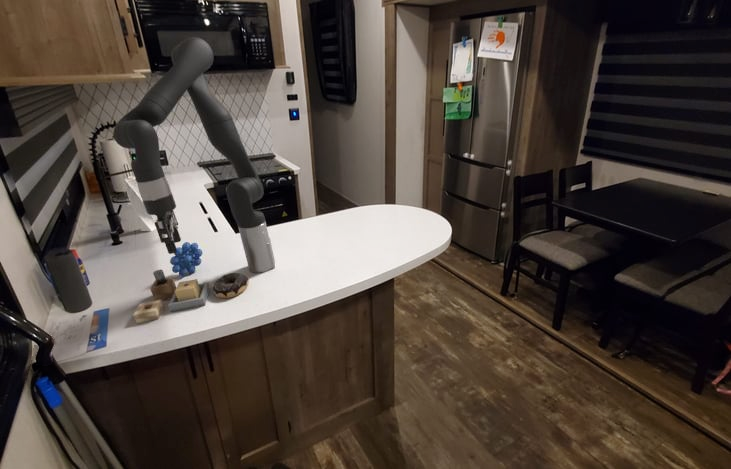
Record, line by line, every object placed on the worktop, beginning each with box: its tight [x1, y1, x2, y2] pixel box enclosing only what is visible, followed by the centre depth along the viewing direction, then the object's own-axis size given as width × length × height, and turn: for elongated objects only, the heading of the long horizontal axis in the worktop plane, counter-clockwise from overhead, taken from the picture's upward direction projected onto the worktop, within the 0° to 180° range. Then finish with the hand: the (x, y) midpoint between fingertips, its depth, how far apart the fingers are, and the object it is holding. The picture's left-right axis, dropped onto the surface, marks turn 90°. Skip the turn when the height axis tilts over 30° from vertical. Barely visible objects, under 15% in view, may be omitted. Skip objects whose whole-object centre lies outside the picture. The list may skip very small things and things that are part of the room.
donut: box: [212, 272, 249, 299], centre depth 122 cm, size 11×12×4 cm
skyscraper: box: [123, 175, 157, 232], centre depth 175 cm, size 8×8×28 cm
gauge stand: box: [133, 300, 164, 324], centre depth 113 cm, size 6×6×3 cm
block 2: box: [175, 278, 201, 302], centre depth 118 cm, size 6×6×5 cm
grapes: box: [169, 241, 203, 277], centre depth 134 cm, size 12×7×12 cm, turn 136°
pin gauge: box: [152, 269, 167, 285], centre depth 122 cm, size 3×3×9 cm
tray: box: [168, 282, 211, 313], centre depth 119 cm, size 10×10×2 cm
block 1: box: [149, 276, 177, 302], centre depth 122 cm, size 6×6×5 cm
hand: (175, 247), depth 109 cm, fingers open, 8 cm apart
